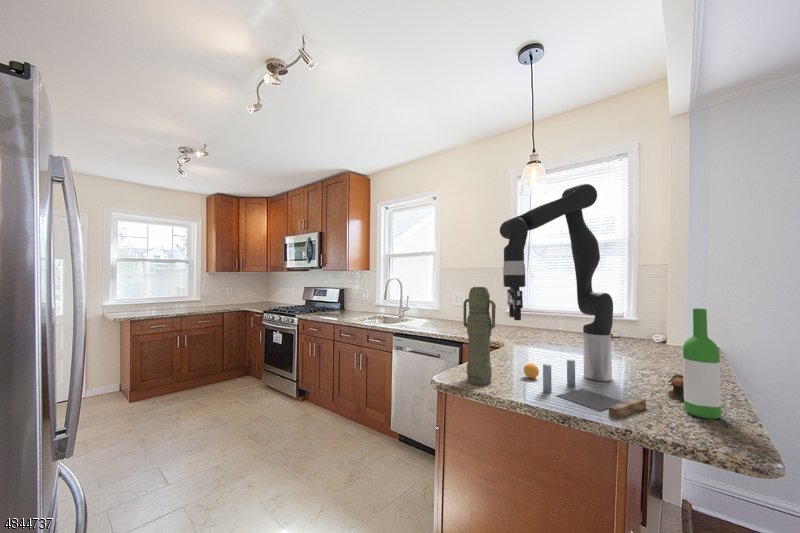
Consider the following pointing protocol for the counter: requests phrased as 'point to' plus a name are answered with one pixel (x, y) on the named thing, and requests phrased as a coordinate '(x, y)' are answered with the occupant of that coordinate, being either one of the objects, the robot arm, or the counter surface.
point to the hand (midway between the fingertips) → (515, 318)
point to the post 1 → (547, 378)
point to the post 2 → (571, 373)
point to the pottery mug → (677, 387)
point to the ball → (531, 370)
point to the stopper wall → (627, 407)
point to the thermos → (479, 335)
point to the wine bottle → (701, 371)
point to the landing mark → (590, 399)
